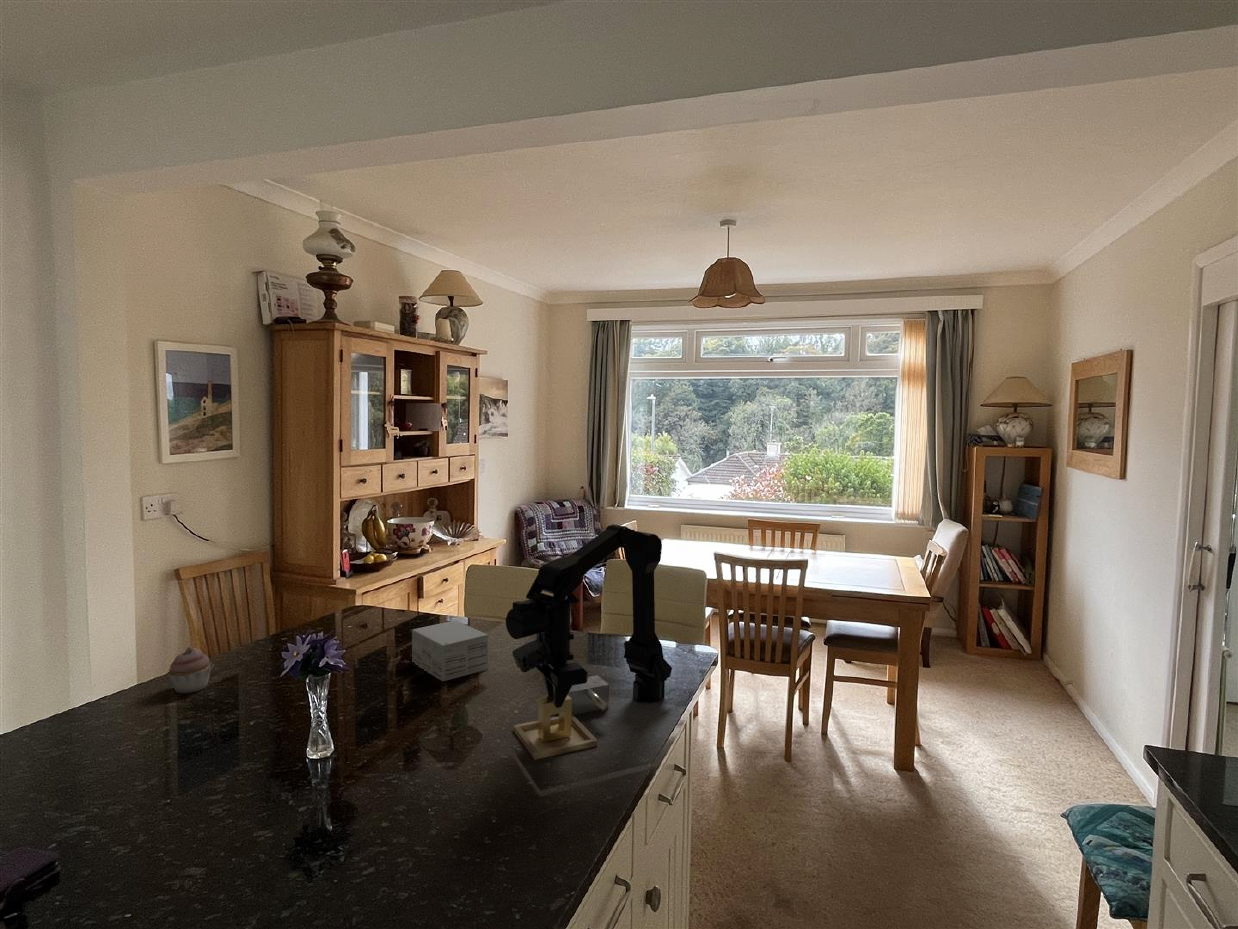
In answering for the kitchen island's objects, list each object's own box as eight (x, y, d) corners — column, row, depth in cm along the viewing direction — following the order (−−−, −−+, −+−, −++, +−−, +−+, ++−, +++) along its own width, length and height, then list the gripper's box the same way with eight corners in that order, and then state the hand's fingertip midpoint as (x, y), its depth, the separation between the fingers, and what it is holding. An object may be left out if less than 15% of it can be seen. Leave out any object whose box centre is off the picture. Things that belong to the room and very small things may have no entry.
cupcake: (157, 692, 153) (156, 650, 152) (196, 678, 162) (195, 638, 161) (185, 699, 149) (183, 656, 149) (223, 684, 158) (222, 643, 157)
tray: (571, 721, 142) (571, 713, 142) (597, 749, 131) (597, 740, 131) (513, 733, 136) (513, 725, 136) (534, 763, 125) (534, 754, 125)
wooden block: (565, 729, 136) (566, 693, 136) (571, 736, 134) (571, 698, 133) (537, 735, 134) (538, 698, 133) (543, 742, 131) (543, 704, 130)
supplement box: (489, 670, 171) (489, 634, 170) (442, 683, 162) (442, 645, 161) (456, 652, 183) (456, 618, 183) (411, 663, 174) (411, 628, 174)
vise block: (598, 699, 154) (598, 674, 154) (627, 725, 141) (627, 698, 141) (553, 707, 149) (554, 681, 149) (579, 736, 136) (580, 707, 136)
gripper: (502, 619, 137) (502, 693, 138) (533, 648, 120) (532, 732, 121) (553, 613, 142) (552, 684, 143) (589, 640, 125) (588, 720, 126)
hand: (555, 703), depth 133 cm, fingers open, 3 cm apart
